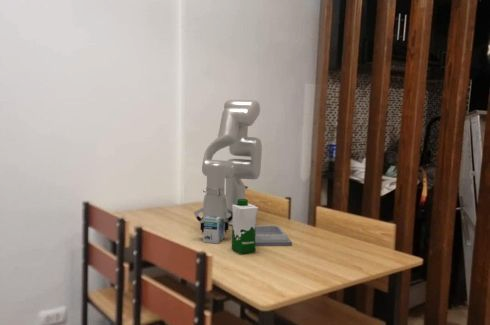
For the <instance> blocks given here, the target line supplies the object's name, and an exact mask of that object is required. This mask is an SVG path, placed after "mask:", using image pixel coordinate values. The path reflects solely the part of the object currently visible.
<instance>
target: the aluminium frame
mask: <svg viewBox="0 0 490 325" xmlns="http://www.w3.org/2000/svg"><path fill="white" fill-rule="evenodd" d="M256 232H277V233H278V234H271V235H255V241H287V237H288V234H287V233H286V232H285V231H284V229H282V227H281V226H280V225H256Z"/></svg>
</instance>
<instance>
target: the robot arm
mask: <svg viewBox="0 0 490 325" xmlns="http://www.w3.org/2000/svg"><path fill="white" fill-rule="evenodd" d="M223 107H224V108H223V111H222V112H221V119H220V123H219V129H218V134H217V138H215V139H214V140H213V141H212V142H211V143H210V144H209V145H208V146H207V148H206V149H205V151H204V155H203V158H202V167H201V173H202V174H203V176H204V177H206V188H203V189H202V193H205V195H204V197H203V204H202V208H200V209H198V210H195V211H193V214H194V216H195V217H196V220H197V221H198V222H199V223H200V231H201V233H203V234H204V217H221V219H224V220H225V228H224V231H225V233H227V232H228V231H229V226H232V223H233V211H232V205H235V204H237V202H238V199H246V186H245V184H244V182H243V180H257V179H259V178H260V174H261V168H262V167H261V166H262V151H263V148H262V147H263V145H262V141H261V139H260V138H257V137H254V136H252V137H251V136H248V133H249V132H248V130H249V127H251V126H252V125H254V123H255V122H256V120H257V119H258V117H259V115H260V112H261V106H260V103H259V102H258V101H257V100H254V99H251V100H250V99H249V100H248V99H229V100H226V101H225V102H224V104H223ZM227 147H229V148H228V150H229V154H230V155H232V156H236V157H246V158H250V159H246V158H230V159H228V160H222V159H221V160H220V159H213V157H214V156H215V154H216V153H217V152H218V151H220V150H222V149H225V148H227ZM201 213H202V217H200V215H199V214H201Z"/></svg>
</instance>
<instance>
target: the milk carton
mask: <svg viewBox="0 0 490 325" xmlns="http://www.w3.org/2000/svg"><path fill="white" fill-rule="evenodd" d="M248 201H249V200H248V199H247V198H245V199H238V202H237V204H235V205H232V211H233V223H232V225H231V226H232V227H231V228H232V231H231V250H233V251H234V252H235V253H237V254H238V255H244V254H252V253H256V246H255V235H256V226H257V216H258V215H257V214H258V210H259V207H258V206H256V205H254V204H251V203H249V202H248Z"/></svg>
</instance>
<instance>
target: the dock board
mask: <svg viewBox="0 0 490 325" xmlns="http://www.w3.org/2000/svg"><path fill="white" fill-rule="evenodd" d="M271 234H278V233H277V232H256V235H271ZM292 245H293V242H292V241H291V239H290V238H289V237H288V236H287V241H255V247H291V246H292Z"/></svg>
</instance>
